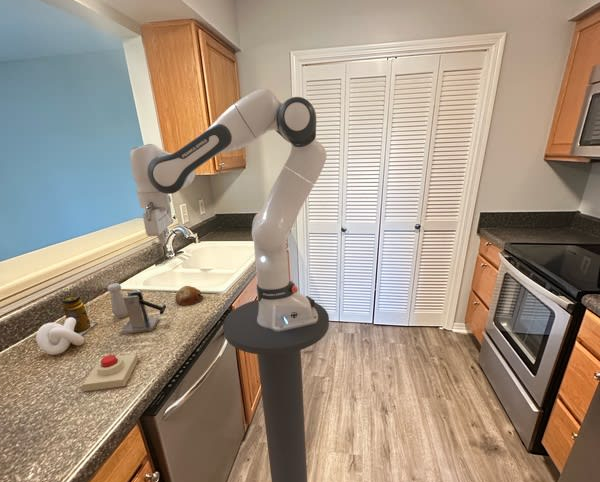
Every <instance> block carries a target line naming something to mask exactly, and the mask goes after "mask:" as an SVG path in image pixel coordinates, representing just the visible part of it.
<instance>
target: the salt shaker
mask: <svg viewBox="0 0 600 482" xmlns="http://www.w3.org/2000/svg"><path fill="white" fill-rule="evenodd" d="M106 289H107V291H108V292H109V293H110V301H111V302H110V303H111V313H112V314H113V315H114V316H115V317H116V318H117V319H124V318H126V317H127V316H128V312H127V309H126V305H125V302H124V297H125V296H124V295H123V294H122V291H121V290H122V286H121V284H120V283H118V282H115V283H110V284H109V285H108V286H107V288H106ZM128 317H129V316H128Z"/></svg>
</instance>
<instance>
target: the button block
mask: <svg viewBox="0 0 600 482" xmlns="http://www.w3.org/2000/svg"><path fill="white" fill-rule="evenodd" d="M115 356H116V360H117V363H116V364H115V365H113V366H110V367H106V368H104V367H103V366H102V363H101V359H102V358H103V357H100V359H99V360H98V361H97V363H95V365H94V367H93V368H92V369H91V372H90V373H89V374H88V376H87V377H86V379H85V380H84V381H83V383H82V385H81V386H82V387H83V390H84V392H91V391H97V390H99V391H100V390H104V389H114V388H121V387H122V388H123V387H125V386H126V385H127V382H128V381H129V379H130V377H131V375H132V373H133V371H134V369H135V368H136V365H137V363H138V361H139V356H138V354H137V353H130V354H122V355H115Z"/></svg>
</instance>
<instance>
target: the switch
mask: <svg viewBox="0 0 600 482" xmlns="http://www.w3.org/2000/svg"><path fill="white" fill-rule="evenodd" d="M130 296H138V295H135V294H131V295H130ZM138 298H140V296H138ZM139 301H140V304H143V305H145V306H146V307H149V308H152V309H154V310H157V311H159V314H160V315H163V314H164V313H165V311H166V308H167V305H166V304H163V305H162V306H160V305H157V304H155V303H152V302H150V301H147V300H145V299H144V300H141V299H139Z"/></svg>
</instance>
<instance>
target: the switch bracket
mask: <svg viewBox="0 0 600 482" xmlns="http://www.w3.org/2000/svg"><path fill="white" fill-rule="evenodd" d="M126 294H127V296H123V297H124V302H125V305H126V309H127V312H128V319H129V320H128V322H127V323H126V325H125V326H124V328H123V329H122V331H121V332H122V335H127V334H136V333H137V334H139V333H145V332H154V330H155V328H156V326H157V325H158V322H159V317H158V316H155V317H149V315H148V311H147V306H146V305H143V304H140V301H139V299H141V300H144V301H145V299H144V295H143V292H142V290H136V291H128V292H127V293H126ZM131 294H135V295H138V296H140V298H138V296H130V295H131Z"/></svg>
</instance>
